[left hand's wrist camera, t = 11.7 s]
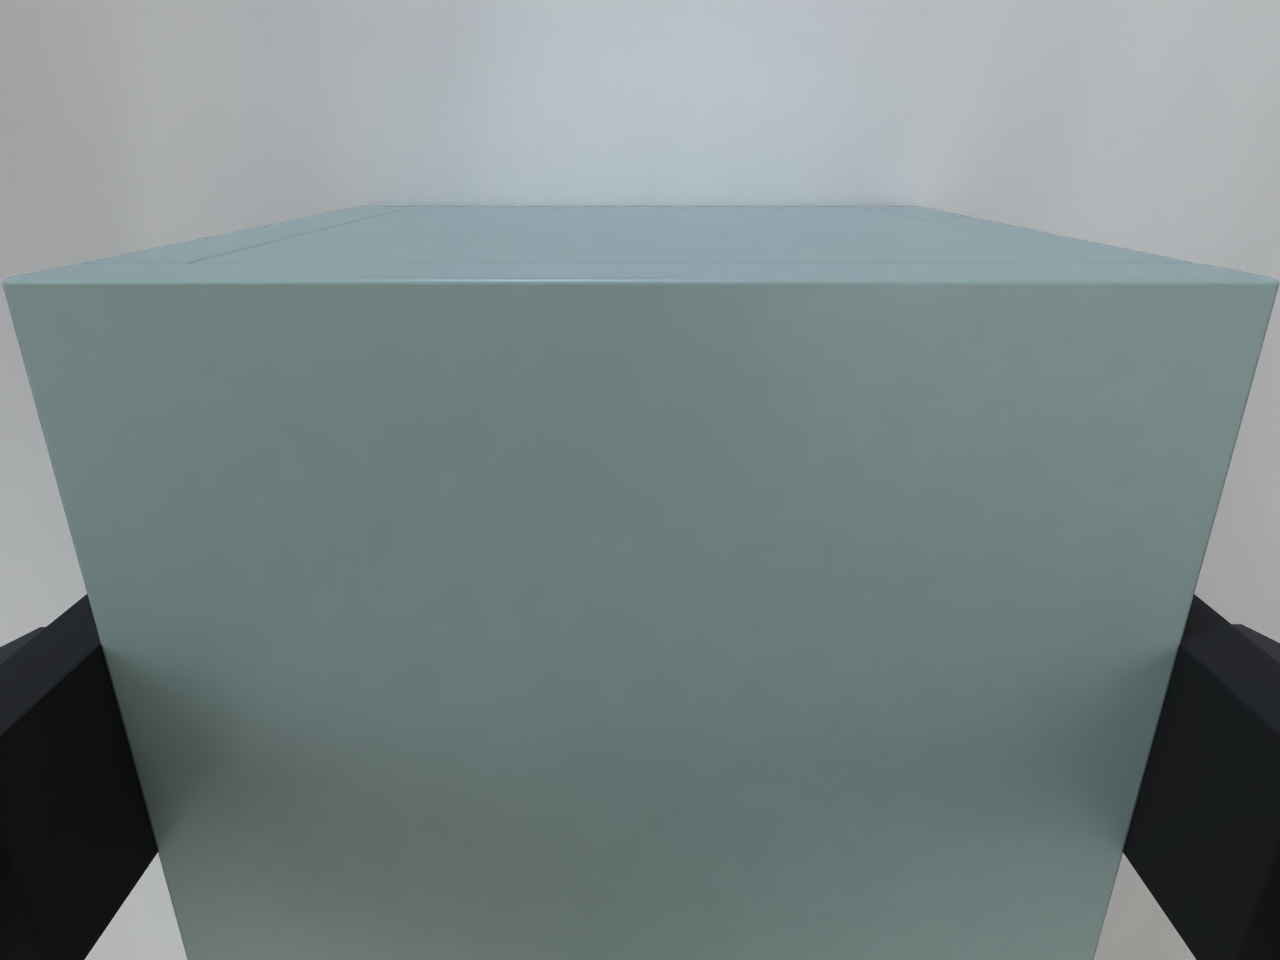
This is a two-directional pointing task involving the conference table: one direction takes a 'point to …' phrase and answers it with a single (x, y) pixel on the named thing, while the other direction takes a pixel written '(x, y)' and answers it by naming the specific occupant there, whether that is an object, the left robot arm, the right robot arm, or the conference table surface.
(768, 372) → the cabinet
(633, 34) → the conference table surface
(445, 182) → the conference table surface
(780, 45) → the conference table surface
